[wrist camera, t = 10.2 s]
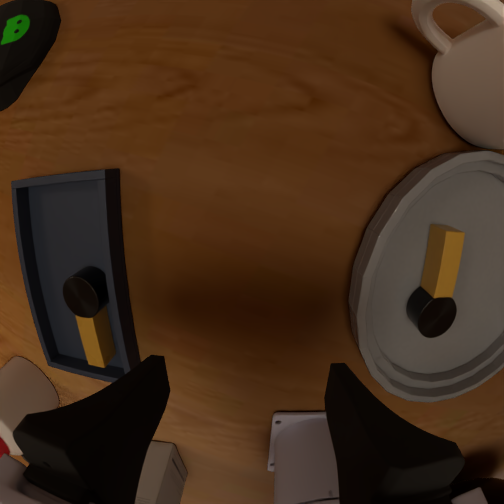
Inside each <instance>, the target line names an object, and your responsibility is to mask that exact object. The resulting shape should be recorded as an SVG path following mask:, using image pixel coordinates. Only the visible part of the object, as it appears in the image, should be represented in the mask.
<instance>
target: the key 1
mask: <svg viewBox="0 0 504 504" xmlns="http://www.w3.org/2000/svg"><path fill="white" fill-rule="evenodd" d="M63 297H64V300H65V303H66V305H67V306H68V308H69V309H70V310H71V311H72V312H73V313H74V314H75V315H76V320H77V324H78V328H79V332H80V336H81V340H82V343H83V347H84V350H85V354H86V357H87V361H88V364H89V365H93V366H98V367H102V368H105V367H106V366H107V365H108V363H109V362H110V361H111V359H112V358H113V357H114V355H115V354H116V350H115V346H114V342H113V337H112V332H111V328H110V323H109V318H108V312H107V307H106V305H107V304H108V303H109V302H110V301H109V295H108V289H107V282H106V275H105V273H104V272H103V271H102V270H100V269H99V268H96V267H93V266H88V267H85V268H83V269H81V270H80V271H78V272H77V273H75V274H74V275H72V276H70V277H69V278H68V279H66V281H65V283H64V285H63Z"/></svg>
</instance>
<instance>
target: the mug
mask: <svg viewBox="0 0 504 504" xmlns="http://www.w3.org/2000/svg"><path fill="white" fill-rule="evenodd" d="M443 3H458V4H462V5H465V6H467V7H469V8H472V9H473V10H475V11H477V12H478V13H479V14H481V15H482V16H483V17H485V18H486V19H487V20H485V21H483V22H481V23H479V24H478V25H476V26H474V27H472V28H471V29H469V30H468V31H466V32H464V33H462V34H461V35H459V36H457V37H456V38H454V39H452V38H450V37H449V36H448V35H447V34H446V33H445V32H444V31H442V30H441V29H440V28H439V26H438V25H437V24H436V23H435V21H434V19H433V17H432V12H433V10H434V8H435V7H437V6H438V5H440V4H443ZM411 12H412V17H413V19H414V22H415V24H416V26H417V28H418V30H419V31H420V32H421V34H422V35H423V36H424V37H425V39H426V40H427V41H428V42H429V43H430V44H431V45H432V46H433V47H434V48H435V49H437V50H438V53H437V54H436V56H435V58H434V62H433V66H432V85H433V90H434V94H435V97H436V100H437V103H438V105H439V108H440V110H441V112H442V114H443V115H444V117H445V119H446V120H447V122H448V123H449V124H450V126H451V127H452V128H453V129H454V130H455V131H456V133H458V134H459V135H460V136H461V137H462V138H463V139H465V140H466V141H467V142H469V143H471V144H473V145H475V146H478V147H481V148H487V149H504V4H503V3H502V2H500V1H499V0H413V1H412V7H411Z"/></svg>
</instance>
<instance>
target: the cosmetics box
mask: <svg viewBox="0 0 504 504" xmlns="http://www.w3.org/2000/svg"><path fill="white" fill-rule="evenodd" d="M186 477H187V471H186V469H185V467H184V465H183V463H182V460H181V458H180V456H179V454H178V451H177V449H176V446H175V445H174V444H173V443H164V442H156V441H151V443H150V445H149V448H148V450H147V453H146V457H145V460H144V464H143V468H142V472H141V476H140V480H139V484H138V489H137V494H136V499H135V504H180V501H181V497H182V493H183V489H184V485H185V481H186Z"/></svg>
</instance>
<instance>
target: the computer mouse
mask: <svg viewBox="0 0 504 504" xmlns="http://www.w3.org/2000/svg"><path fill="white" fill-rule="evenodd" d="M60 22H61V19H60V16H59V12H58V8H57V6H56V5H55V4H54V3H52V2H50V1H44V0H14V1H11V2H8V3H5V4H3V5H1V6H0V111H1V110H4V109H6V108H8V107H9V106H10V105H11V104H12V103H13V102H14V101H15V100H16V99H17V98H18V97H19V95H20V93H21V92H22V90H23V89H24V87H25V86H26V84H27V83H28V81H29V80H30V78H31V77H32V75H33V74H34V72H35V71H36V70H37V68H38V67H39V65H40V64H41V62H42V61H43V59H44V58H45V56H46V54H47V53H48V51H49V49H50V48H51V46H52V45H53V43H54V42H55V39H56V36H57V32H58V29H59V25H60Z"/></svg>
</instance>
